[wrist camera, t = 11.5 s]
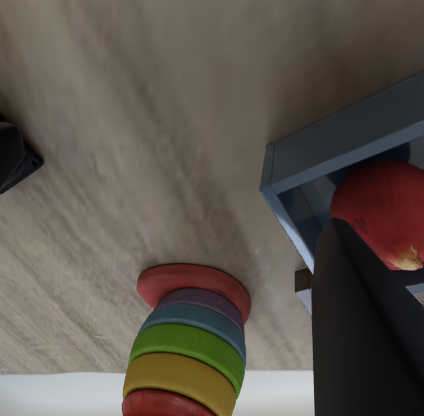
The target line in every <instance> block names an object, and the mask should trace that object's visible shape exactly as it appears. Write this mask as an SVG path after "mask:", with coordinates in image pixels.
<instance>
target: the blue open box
mask: <svg viewBox="0 0 424 416" xmlns="http://www.w3.org/2000/svg"><path fill="white" fill-rule="evenodd" d="M384 160H388V161H398V162H408V163H410V164H412V165H414V166H416V167H418V168H420V169H423V170H424V70H422V71H420V72H418V73H416V74H414V75H412V76H410V77H408V78H406V79H404V80H402V81H399V82H397V83H395V84H393V85H391V86H389V87H387V88H385V89H383V90H381V91H379V92H377V93H375V94H373V95H370V96H368V97H366V98H364V99H362V100H360V101H358V102H356V103H354V104H352V105H350V106H348V107H346V108H344V109H341V110H339V111H337V112H335V113H333V114H331V115H329V116H327V117H325V118H323V119H321V120H319V121H317V122H315V123H312V124H310V125H308V126H306V127H304V128H302V129H300V130H298V131H296V132H294V133H292V134H290V135H288V136H286V137H283V138H281V139H279V140H277V141H275V142H273V143H271V144H269V145H267V146H266V152H265V158H264V164H263V170H262V176H261V182H260V188H259V190H260V192H261V193H262V195H263V196H264V198H265V200H266V201H267V203H268V204H269V206H270V207H271V209H272V211H273V212H274V214H275V215H276V217H277V219H278V220H279V222H280V223H281V225H282V227H283V228H284V230H285V231H286V233H287V235H288V236H289V238H290V239H291V241H292V242H293V244H294V246H295V247H296V249H297V250H298V252H299V254H300V255H301V257H302V258H303V260H304V262H305V263H306V265H307V266H308V268H309V270H310V271H311V273H312V274H313V269H314V259H315V249H316V243H317V240H318V238H319V236H320V234H321V232H322V230H323V228H324V227H325V225H326V223H327V221H328V220H329V219H330V216H329V212H330V204H331V201H332V198H333V194H334V191H335V189H336V188H337V187H338V186H339V184H340V183H341V182H342V181H343V180H344V178H345V177H346V176H347V175H348V174H349V173H351V172H352V171H354V170H356V169H358V168H359V167H361V166H363V165H365V164H370V163H375V162H380V161H384ZM423 264H424V262H423ZM391 271H392V272H393V273H394V275H395V276H396V277H397V278H398V279H399V280H400V281H401V282H402V283H403V285H404V286H405V287H406V288H407V289H408V290H409V291H410V292H411V293H416V292H421V291H424V265H423V268H418V269H416V270H403V269H402V270H391Z"/></svg>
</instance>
